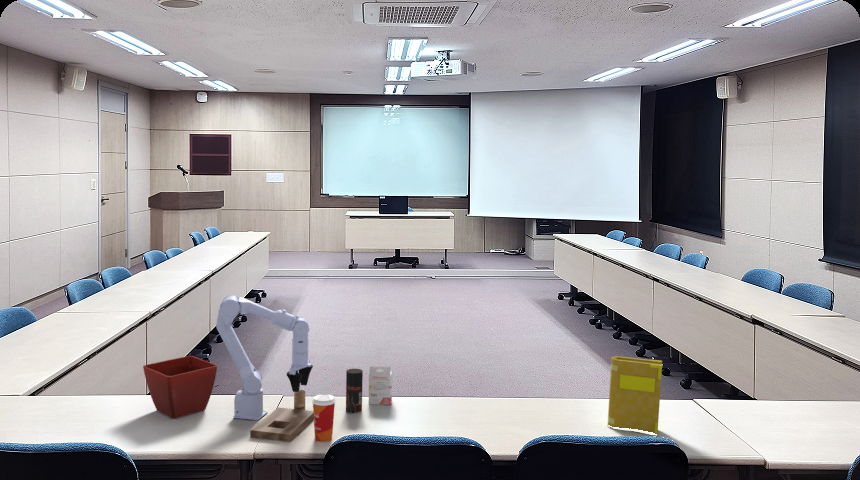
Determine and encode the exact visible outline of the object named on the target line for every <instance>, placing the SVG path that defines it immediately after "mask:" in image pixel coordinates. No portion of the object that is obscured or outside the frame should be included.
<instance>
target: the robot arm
mask: <svg viewBox="0 0 860 480" xmlns="http://www.w3.org/2000/svg"><path fill="white" fill-rule="evenodd" d="M239 313H240V315H242V316H243V315H245V314H246V315H247V314H253V315H256V316H259V317H261V318H263V319H267V320H270V321H271V324H272V325H273V326H274V327H275V326H276V327H278V328H280V329H283V330H286V331H288V332H292V339H291V364H290V367H289V371H287V372H286V377H287V378H288V380H289V383H290V385H291V386H290V387H291V391H292V392H293V393H294V392H299V390H301V389H300V387H301V386H307V385H308V383H309V382H308V381H309V378H310V374H311V371H312V369H313V368H314V365H313V364H312V363H311V358H309V338H308V337H309V332H310V327H309V322H308V321H307V319H306V318H304V317H303V316H299V315H298V314H296V315H293V314H291V313H289V312H287V310H286V309H282V310H281V309H278V310H272V309H269V308H268V307H265V306H263V305H261V304H258V303H256V302H254V301H252V300H250V299H247V298H245V297H241V296H237V295H235V294H229V295H226V296H225V297H224V298H223V299H222V302H221V303H220V305H219V308H218V312H217V319H216V325H215V327H216V330H217V332H218V333H219V336H220V337H221V339H222V341H223V343H224V345H225V347H226V349H227V350H228V353H229V354H230V357H231V359H232V360H233V362H234V364H235V366H236V369H237V371H238V373H239V376H240V379H241V380H242V389H240V390H237V392H236V393H235V396H234V399H233V402H234V406H233V407H234V411H233V412H234V414H233V416H232V417H233V419H241V420H251V421H259V420H261V419H262V418H263V417H264V416H265V415H267V414H268V411H267V410H266V411H265V410H264V388H263V387H262V384H263V383H262V378H263V377H262V374H261V372H260V371H259V370H257V369H256V367H255V366H254V365H253V363H252V362H251V360H250V358H249V356H248V355H247V352H246V351H245V348H244V347H243V345H242V343H241V341H240V339H239V338H238V335H237V334H236V332H235V329H234V328H233V326H232V324H233V321H234V320H235V318H236V317H237V316H238V315H239Z"/></svg>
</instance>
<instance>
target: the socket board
mask: <svg viewBox="0 0 860 480" xmlns="http://www.w3.org/2000/svg"><path fill="white" fill-rule="evenodd" d="M312 421H314V411H313V410H306V409H305V410H298V409H294V408H289V407H288V408H287V407H286V408H285V407H276V409H274V410H273V411H272V412H270V414H268V415H267V416H266V417H265V418H263V419H262V420H261V421H260V422H258V423H257V424H256V425H255V426H253V427H252V428H251V429H249V437H250V438H251V439H252V438H253V439H258V440H259V439H260V440H261V439H262V440H268V441H269V440H270V441H278V442H285V443H286V442H287V443H291V442H292V441H293V440H294V439H295V438H296V437H297V436H298V435H299V434H300V433H301V432H302V431H303V430H304V429H305V428H306V427H307V426H308V425H309V424H310V423H312Z"/></svg>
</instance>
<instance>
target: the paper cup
mask: <svg viewBox="0 0 860 480" xmlns="http://www.w3.org/2000/svg"><path fill="white" fill-rule="evenodd" d="M312 398H313V399H312V401H311V402H312V405H313V406H312V407H313V409H312V411H314V419H313V428H314V440H315V442H319V443H320V442H321V443H327V442H330V441H332V440H333V432H334V419H335V417H334V416H335V403H336V402H337V401H336V399H335V396H334V395H332V394H317V395H315V396H314V397H312Z"/></svg>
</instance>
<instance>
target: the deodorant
mask: <svg viewBox="0 0 860 480" xmlns="http://www.w3.org/2000/svg"><path fill="white" fill-rule="evenodd" d="M363 371H364V370H363V369H361V368H349V369H347V370H346V373H345V374H346V375H345V376H346V377H345V378H346V379H345V380H346V381H345V382H346V383H345V385H346V386H345V412H346V413H348V414H359V413H361V412H362V411H363V377H364V375H363Z"/></svg>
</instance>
